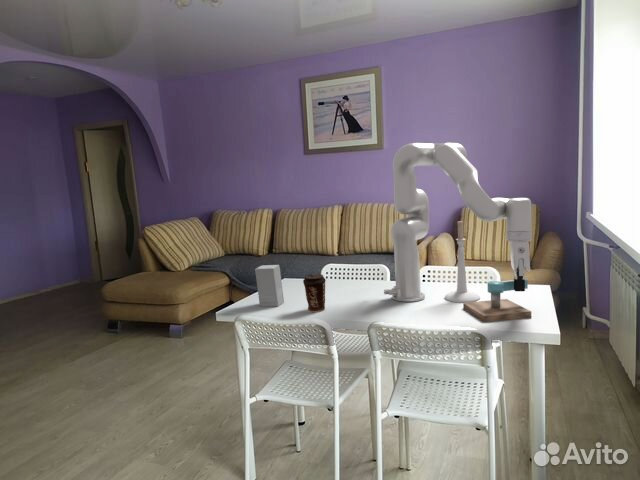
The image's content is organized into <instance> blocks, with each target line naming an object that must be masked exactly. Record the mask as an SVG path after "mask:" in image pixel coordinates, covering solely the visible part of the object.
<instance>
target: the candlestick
mask: <svg viewBox="0 0 640 480" xmlns="http://www.w3.org/2000/svg"><path fill="white" fill-rule="evenodd" d="M455 240H456V241H457V242H456V243H457V245H458V249H457V279H456V280H457V282H456V283H457V285H456V290H454V291H450V292H447V294H445V296H444V299H445V301H448V302H451V303H459V304H460V303H461V304H463V303H468V302H479V301H480V299H481V297H480V295H479V294H478V293H476V292H474V291H470V290H468V286H467V275H466V273H467V272H466V262H465V261H466V260H465V259H466V258H465V248H464V245H465V241H466V238H464V221H462V220H459V221H457V238H455Z"/></svg>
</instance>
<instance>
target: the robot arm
mask: <svg viewBox="0 0 640 480" xmlns="http://www.w3.org/2000/svg"><path fill="white" fill-rule="evenodd" d="M467 156H468V153H467V150H466V148H465V147H464V146H463V145H462V144H460V143H458V142H443V143H432V142H431V143H429V142H428V143H427V142H412V143H411V142H410V143H407V144H405V145H402V146H401V147H400V148H398V150H397V151H396V152H395V155H394V156H393V161H392V171H393V172H392V173H393V206H394V209H395V211H396V212H397V213H398V214H401V215H406V217H403V218H399V219H397V220H396V221H395V222H394V223H393V224H392V225H391V229H390V236H391V240H392V245H393V256H394V258H393V259H394V273H395V274H394V277H395V279H394V280H395V285H394V286H393V287H392V288H390V289H387V288H386V289H384V290H383V294H384V295H389V296H391V298H392V299H393V300H395V301H398V302H404V303H405V302H407V303H409V302H410V303H411V302H417V301H423V300H424V299H425V297H426V294H425V293H423V292H421V271H420V270H421V269H420V268H421V266H420V252H419V247H418V244H417V241H418V240H420V239H423V238H425V237H427V235H428V232H429V230H430V203H429V202H430V201H429V197H428V195H427V193H426V192H425V191H424V190H423V189H420V188H417V175H416V171H415V167H439V168H440V169H441V170H442V172H444V174H446V176H447V177H448V178H449V179H450V180H451V181H452V182H453V183H454V185H455V186H456V187H457V189H458V191H459V194H460V197H461V199H462V201H463V203H465V206H467V208H468V209H469V210H470V211H471V213H473V215H475V216H476V217H477V218H478V219H479V220H481V221H482V222H484V223H493V222H495V221H500V220H506V221H505V222H506V223H505V224H506V242H509V243H510V249H509V251H510V266H511V268H512V271H513V275H514V276H513V277H514V278H513V280H514V290H513V291H514V292H526V289H525V277H526V276H525V274H526V273H525V272H526V271H527V272H529V273H530V271H531V263H530V262H531V259H530V244H529V242H531V241H532V240H533V239H532V201H531V199H530V198H528V197H513V198H506V197H493V198H491V197H490V196H489V195H488V193H486V192H485V190H484V189H483V188H482V186H481V185H480V183H479V180H478V178H479V170H477V168H476V167H475V166H474V165H473V164H472V163H471V162H470V161H469V160H468V159H467V158H468V157H467Z"/></svg>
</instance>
